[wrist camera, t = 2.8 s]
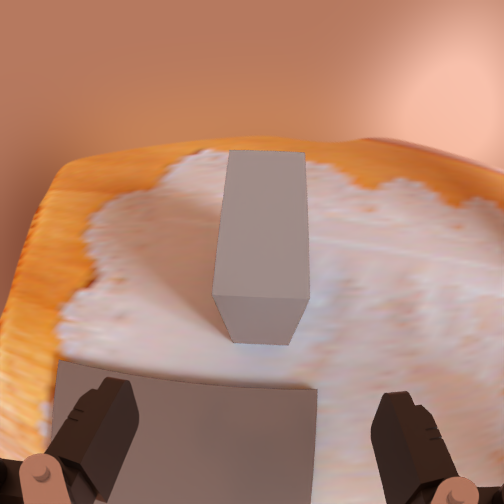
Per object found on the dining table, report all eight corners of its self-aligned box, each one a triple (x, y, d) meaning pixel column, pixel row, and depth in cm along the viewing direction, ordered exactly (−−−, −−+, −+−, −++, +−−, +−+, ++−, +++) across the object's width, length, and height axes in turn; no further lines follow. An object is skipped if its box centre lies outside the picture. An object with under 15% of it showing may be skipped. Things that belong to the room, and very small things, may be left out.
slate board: (315, 389, 21) (317, 389, 21) (305, 536, 16) (306, 540, 15) (64, 361, 22) (58, 359, 22) (56, 491, 17) (51, 493, 16)
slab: (239, 244, 27) (226, 150, 17) (290, 246, 26) (304, 152, 17) (231, 342, 23) (208, 294, 13) (288, 345, 23) (309, 298, 13)
